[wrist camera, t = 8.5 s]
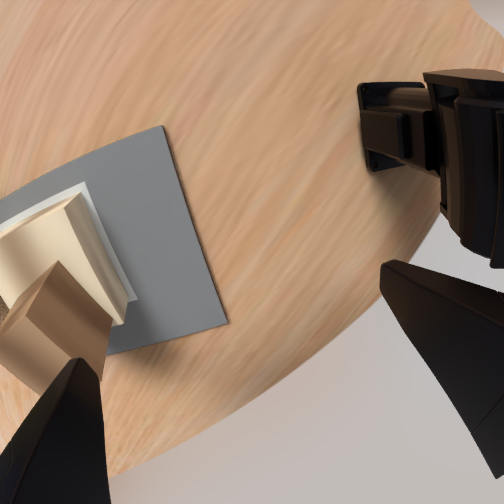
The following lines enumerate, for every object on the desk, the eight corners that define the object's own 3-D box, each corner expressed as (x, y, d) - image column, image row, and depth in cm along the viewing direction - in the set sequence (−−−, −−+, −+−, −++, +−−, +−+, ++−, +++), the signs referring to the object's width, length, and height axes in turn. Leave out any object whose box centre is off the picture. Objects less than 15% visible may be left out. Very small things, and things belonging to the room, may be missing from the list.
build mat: (162, 124, 15) (161, 125, 15) (226, 318, 23) (227, 323, 22) (-24, 216, 14) (-28, 219, 13) (64, 360, 21) (63, 365, 21)
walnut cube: (58, 259, 14) (25, 315, 9) (113, 318, 16) (101, 381, 12) (17, 298, 14) (-13, 351, 10) (67, 347, 16) (52, 404, 12)
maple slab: (80, 191, 15) (63, 207, 13) (128, 295, 19) (123, 323, 17) (-3, 233, 14) (-23, 253, 12) (47, 320, 18) (36, 346, 16)
